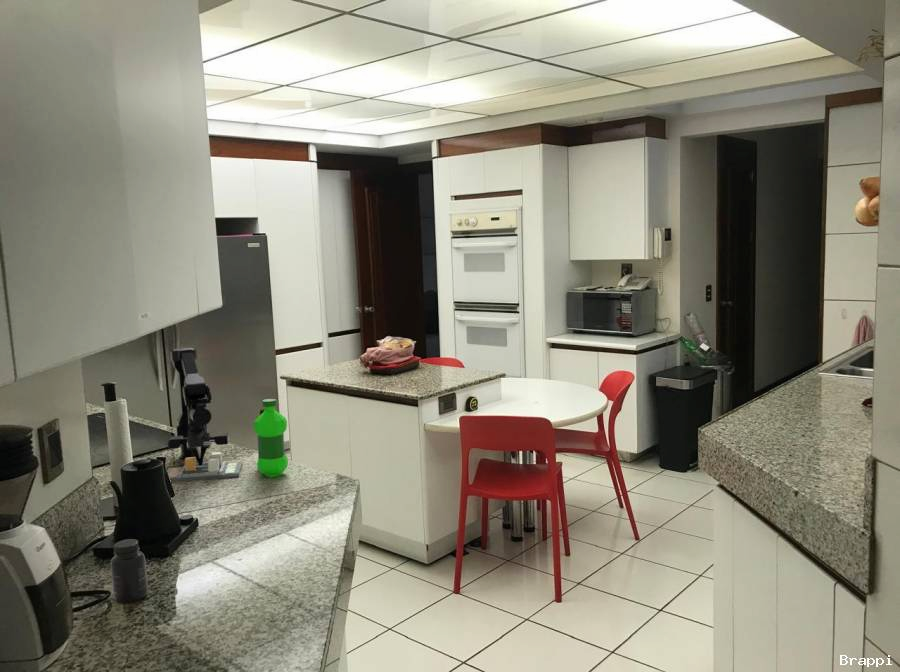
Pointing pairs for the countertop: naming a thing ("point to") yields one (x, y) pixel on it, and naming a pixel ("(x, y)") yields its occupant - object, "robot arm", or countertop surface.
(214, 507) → the countertop surface
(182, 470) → the panel
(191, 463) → the block
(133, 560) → the supplement bottle
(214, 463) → the block
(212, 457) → the block
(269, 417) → the plastic bottle
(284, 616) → the countertop surface
